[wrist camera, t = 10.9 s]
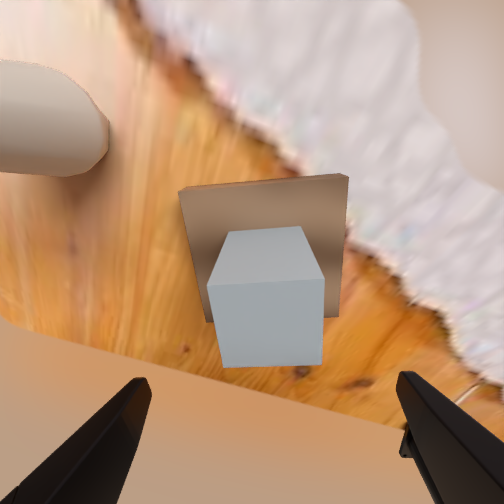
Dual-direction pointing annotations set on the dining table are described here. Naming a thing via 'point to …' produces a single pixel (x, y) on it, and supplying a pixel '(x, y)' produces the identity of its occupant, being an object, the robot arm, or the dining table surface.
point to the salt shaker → (47, 122)
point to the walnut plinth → (269, 222)
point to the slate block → (268, 299)
